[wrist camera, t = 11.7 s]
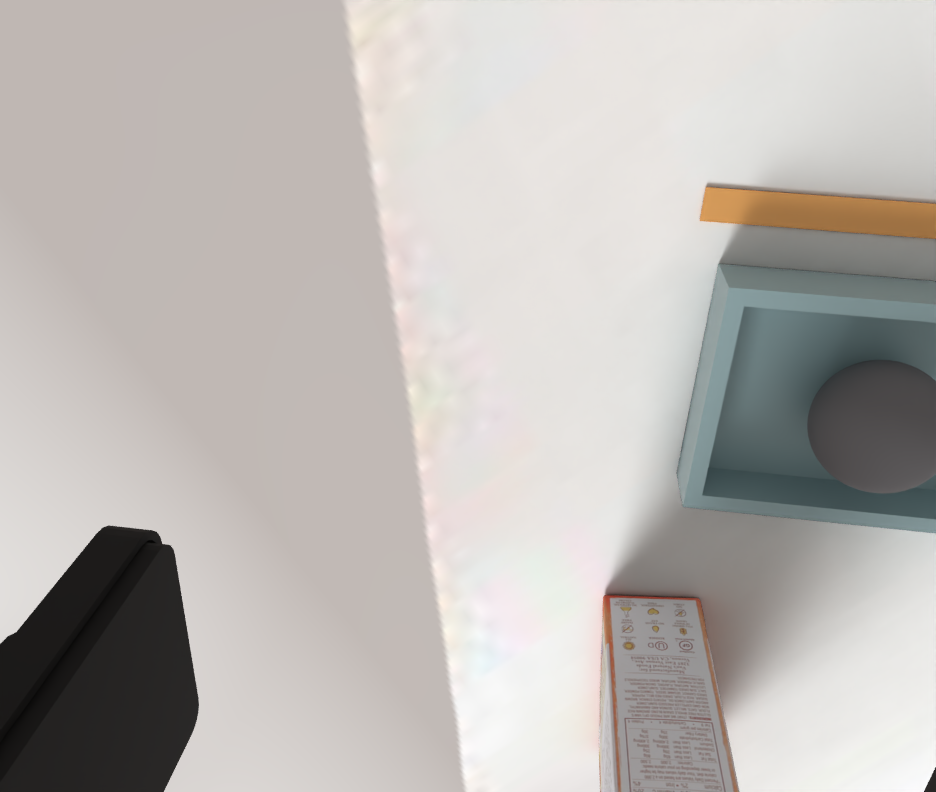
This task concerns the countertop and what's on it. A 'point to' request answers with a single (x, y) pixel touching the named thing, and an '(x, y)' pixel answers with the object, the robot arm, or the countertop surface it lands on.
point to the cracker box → (660, 700)
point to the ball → (876, 426)
